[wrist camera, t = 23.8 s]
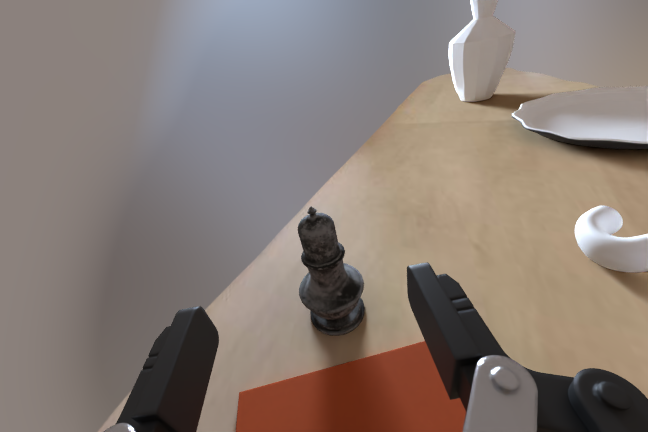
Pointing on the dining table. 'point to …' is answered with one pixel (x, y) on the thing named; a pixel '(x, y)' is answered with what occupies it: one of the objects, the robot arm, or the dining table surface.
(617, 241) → the stomach
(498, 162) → the dining table surface
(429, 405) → the rectangular block
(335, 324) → the chess piece
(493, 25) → the vase
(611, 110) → the plate
